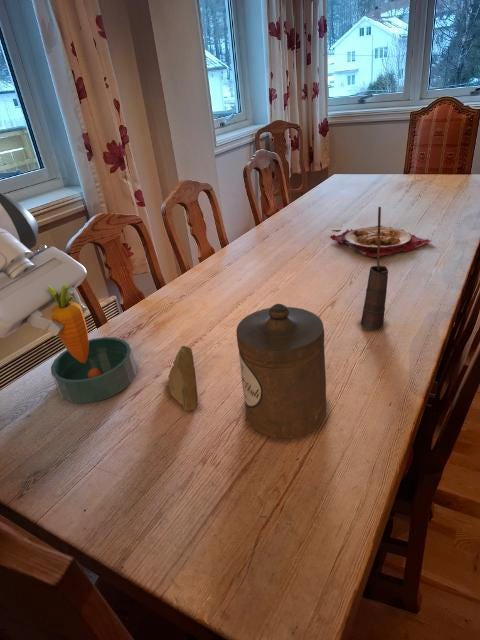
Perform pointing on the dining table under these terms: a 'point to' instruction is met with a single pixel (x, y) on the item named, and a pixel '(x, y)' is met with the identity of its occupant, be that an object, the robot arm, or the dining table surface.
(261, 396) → the wooden container
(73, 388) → the bowl
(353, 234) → the plate with food
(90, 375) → the ball
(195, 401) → the rock
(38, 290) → the robot arm
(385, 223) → the dining table surface
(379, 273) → the butter churn
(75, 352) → the carrot
